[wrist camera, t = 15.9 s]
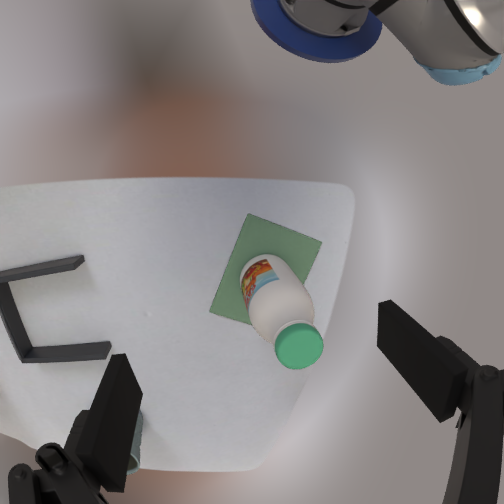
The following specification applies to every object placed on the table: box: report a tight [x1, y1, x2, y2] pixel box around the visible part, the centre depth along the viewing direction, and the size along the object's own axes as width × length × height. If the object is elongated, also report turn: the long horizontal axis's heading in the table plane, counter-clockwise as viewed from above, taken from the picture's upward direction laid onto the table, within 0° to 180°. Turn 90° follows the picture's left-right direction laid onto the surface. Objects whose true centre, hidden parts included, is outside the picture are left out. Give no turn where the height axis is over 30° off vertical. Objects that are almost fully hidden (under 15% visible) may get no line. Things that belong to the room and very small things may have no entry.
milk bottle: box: [240, 254, 323, 369], centre depth 38 cm, size 8×8×20 cm
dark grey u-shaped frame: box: [0, 255, 111, 363], centre depth 43 cm, size 18×16×5 cm
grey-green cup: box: [127, 410, 143, 475], centre depth 46 cm, size 10×10×12 cm
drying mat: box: [210, 214, 322, 325], centre depth 48 cm, size 16×12×1 cm
